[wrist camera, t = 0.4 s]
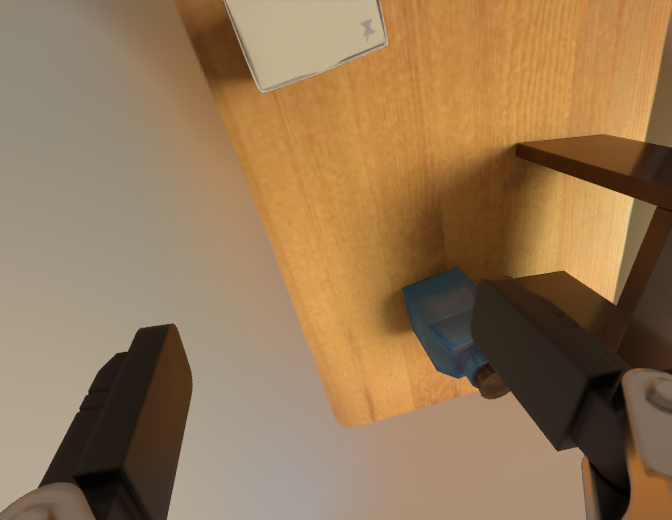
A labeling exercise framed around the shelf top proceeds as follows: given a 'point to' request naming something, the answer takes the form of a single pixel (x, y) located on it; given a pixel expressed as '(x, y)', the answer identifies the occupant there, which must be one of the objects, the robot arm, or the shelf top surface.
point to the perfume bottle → (451, 329)
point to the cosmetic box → (303, 36)
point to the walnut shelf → (652, 259)
